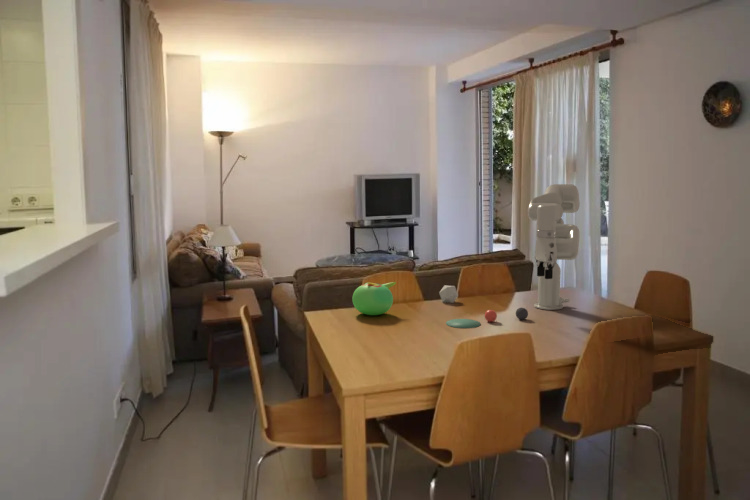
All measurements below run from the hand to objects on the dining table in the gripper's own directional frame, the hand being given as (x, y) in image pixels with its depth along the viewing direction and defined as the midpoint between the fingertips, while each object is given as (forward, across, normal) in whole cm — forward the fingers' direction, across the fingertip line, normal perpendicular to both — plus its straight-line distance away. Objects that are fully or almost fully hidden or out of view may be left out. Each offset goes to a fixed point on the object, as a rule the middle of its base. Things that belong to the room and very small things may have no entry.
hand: (544, 277), depth 238 cm
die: (+18, +39, +28) cm, 51 cm away
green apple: (+18, +25, +68) cm, 75 cm away
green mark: (+18, 0, +36) cm, 40 cm away
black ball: (+15, 0, +10) cm, 18 cm away
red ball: (+15, 0, +24) cm, 28 cm away
